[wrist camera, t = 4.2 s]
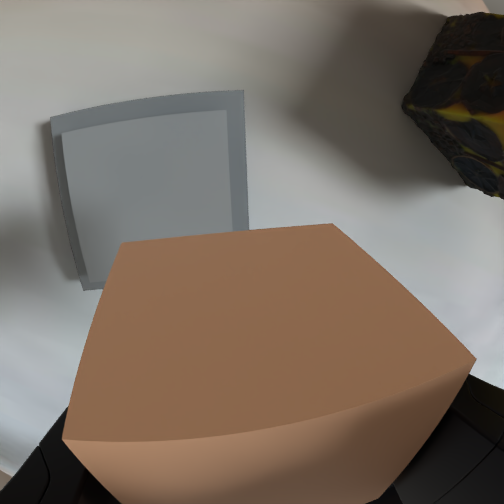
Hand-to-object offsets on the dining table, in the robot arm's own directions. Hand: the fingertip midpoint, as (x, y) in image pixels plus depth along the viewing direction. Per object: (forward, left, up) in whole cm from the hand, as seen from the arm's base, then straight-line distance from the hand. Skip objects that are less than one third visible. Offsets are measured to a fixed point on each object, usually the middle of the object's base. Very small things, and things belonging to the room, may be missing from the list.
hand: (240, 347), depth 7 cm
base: (+1, +3, -12) cm, 12 cm away
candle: (+7, -19, -12) cm, 24 cm away
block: (0, 0, -1) cm, 1 cm away
